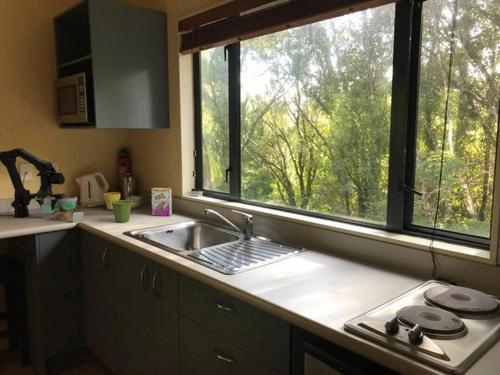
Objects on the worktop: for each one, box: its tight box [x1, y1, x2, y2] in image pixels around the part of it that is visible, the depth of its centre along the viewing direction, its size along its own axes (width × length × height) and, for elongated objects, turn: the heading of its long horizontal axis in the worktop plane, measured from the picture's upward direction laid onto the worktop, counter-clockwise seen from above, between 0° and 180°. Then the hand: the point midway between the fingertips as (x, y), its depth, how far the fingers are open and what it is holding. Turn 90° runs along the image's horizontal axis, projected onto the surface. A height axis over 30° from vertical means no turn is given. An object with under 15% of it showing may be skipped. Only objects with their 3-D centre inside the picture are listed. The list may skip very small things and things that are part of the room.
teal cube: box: [40, 202, 55, 215], centre depth 244 cm, size 5×5×5 cm
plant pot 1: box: [103, 192, 121, 210], centre depth 276 cm, size 10×10×10 cm
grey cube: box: [72, 211, 85, 224], centre depth 235 cm, size 5×5×5 cm
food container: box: [56, 195, 78, 215], centre depth 256 cm, size 12×6×10 cm, turn 143°
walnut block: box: [52, 211, 73, 222], centre depth 241 cm, size 7×7×4 cm
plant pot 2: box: [111, 199, 134, 223], centre depth 237 cm, size 12×12×11 cm
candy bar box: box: [150, 187, 173, 217], centre depth 254 cm, size 11×5×16 cm, turn 84°
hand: (47, 210), depth 244 cm, fingers closed on teal cube, 5 cm apart
